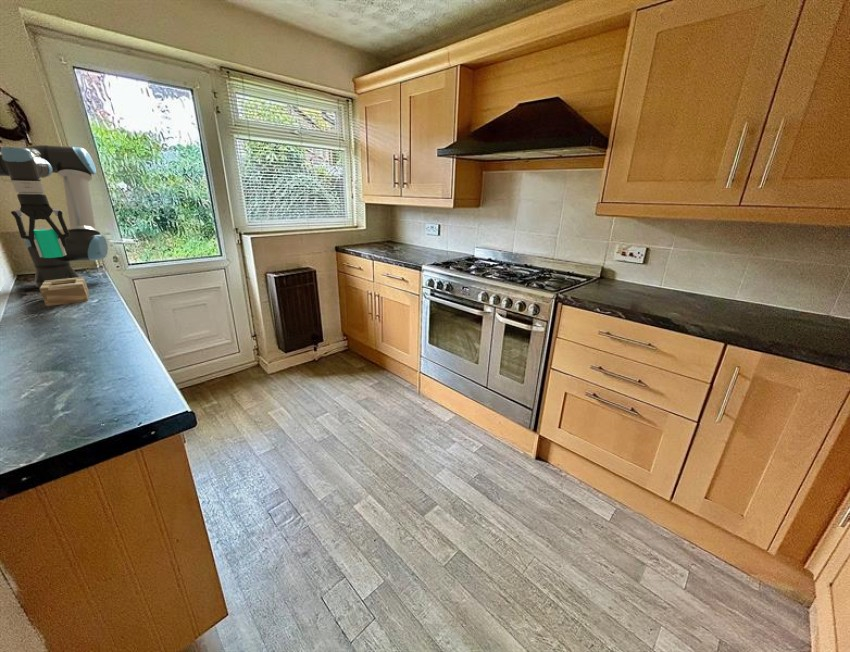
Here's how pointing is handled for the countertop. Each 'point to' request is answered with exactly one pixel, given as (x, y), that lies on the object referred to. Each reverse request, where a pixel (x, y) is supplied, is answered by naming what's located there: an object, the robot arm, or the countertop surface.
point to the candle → (48, 243)
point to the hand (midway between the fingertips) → (53, 255)
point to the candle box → (64, 291)
